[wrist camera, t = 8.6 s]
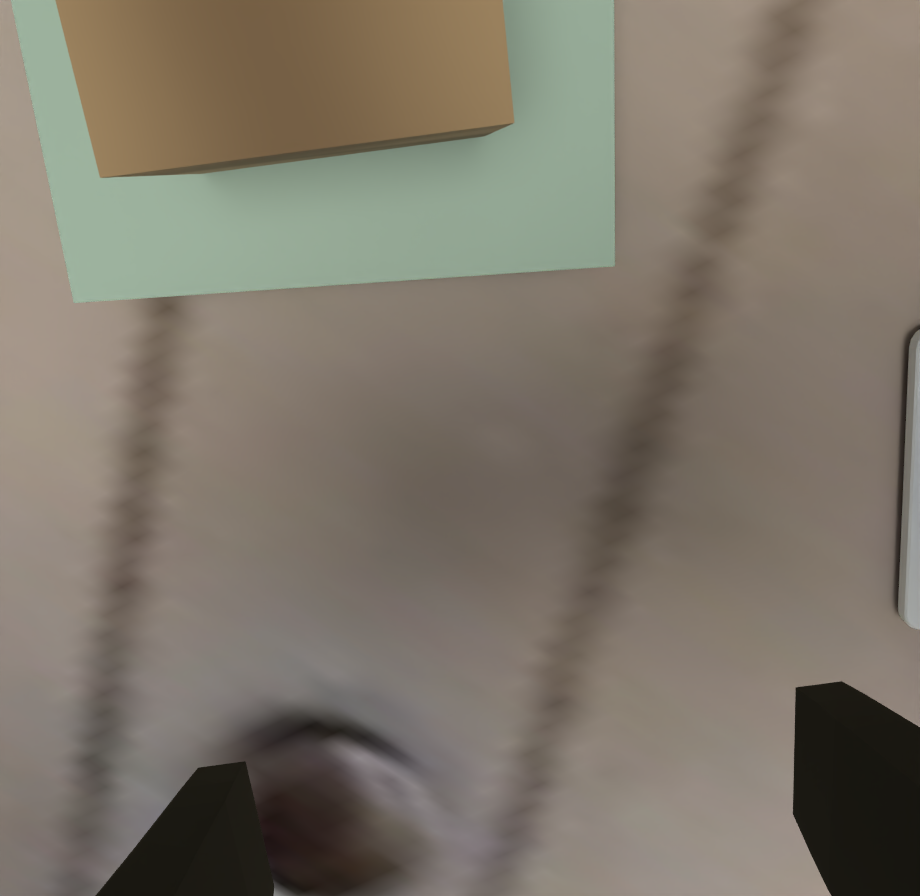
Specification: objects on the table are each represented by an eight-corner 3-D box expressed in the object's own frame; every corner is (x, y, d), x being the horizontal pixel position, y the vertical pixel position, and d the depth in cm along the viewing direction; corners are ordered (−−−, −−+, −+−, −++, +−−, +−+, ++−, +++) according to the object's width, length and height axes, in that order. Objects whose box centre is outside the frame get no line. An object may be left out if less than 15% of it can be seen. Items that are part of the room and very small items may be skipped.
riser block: (569, -283, 16) (612, -421, 12) (578, 247, 19) (615, 266, 16) (48, -253, 16) (-69, -384, 12) (143, 276, 19) (73, 302, 15)
